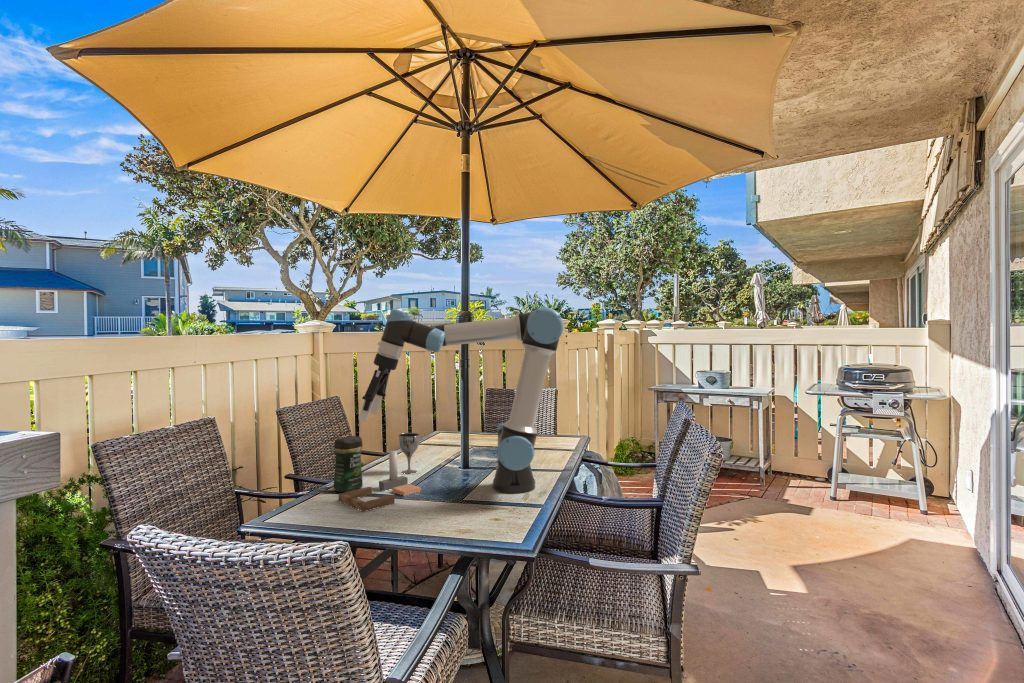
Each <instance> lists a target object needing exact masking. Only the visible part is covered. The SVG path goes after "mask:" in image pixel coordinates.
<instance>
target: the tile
mask: <svg viewBox="0 0 1024 683" xmlns="http://www.w3.org/2000/svg"><path fill="white" fill-rule="evenodd" d="M420 491H421V492H422V488H421V487H420V486H417V485H414V484H410V483H408V484H406V485H402V486H398V487H394V488H392V492H391V493H393V492H394V493H393V494H396V493H397V494H396V495H398V494H400V495H399V496H401V495H403V496H402V497H406V496H405V495H408V496H410V495H409V494H412V493H416V492H419V493H421V492H420ZM416 494H417V493H416ZM412 495H413V494H412Z"/></svg>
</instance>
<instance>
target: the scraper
mask: <svg viewBox="0 0 1024 683" xmlns="http://www.w3.org/2000/svg"><path fill="white" fill-rule="evenodd" d="M388 454H389V456H388V458H389V459H388V462H389V464H388V466H389V467H388V468H389V470H388V472H389V475H388V476H389V478H387V479H383V480H380V481H378V490H379V489H380V490H379V491H381V490H383V491H382V492H386V491H385V490H388V491H390V490H389V489H392V488H394V487H398V486H402V485H406V484H409V482H408V479H409V478H408V477H407V476H406V475H400V476H398V450H390V451H389V452H388Z"/></svg>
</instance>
